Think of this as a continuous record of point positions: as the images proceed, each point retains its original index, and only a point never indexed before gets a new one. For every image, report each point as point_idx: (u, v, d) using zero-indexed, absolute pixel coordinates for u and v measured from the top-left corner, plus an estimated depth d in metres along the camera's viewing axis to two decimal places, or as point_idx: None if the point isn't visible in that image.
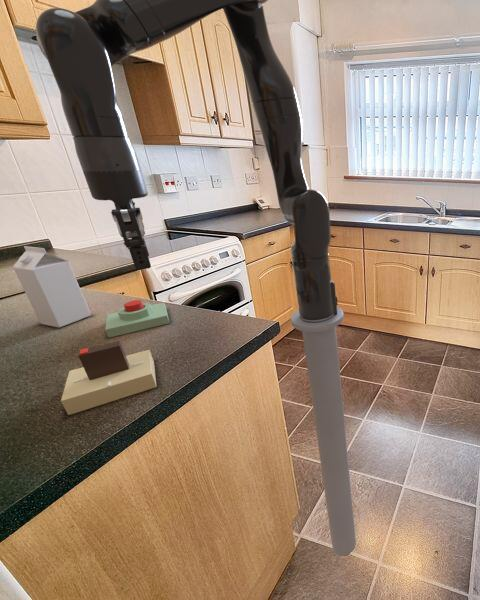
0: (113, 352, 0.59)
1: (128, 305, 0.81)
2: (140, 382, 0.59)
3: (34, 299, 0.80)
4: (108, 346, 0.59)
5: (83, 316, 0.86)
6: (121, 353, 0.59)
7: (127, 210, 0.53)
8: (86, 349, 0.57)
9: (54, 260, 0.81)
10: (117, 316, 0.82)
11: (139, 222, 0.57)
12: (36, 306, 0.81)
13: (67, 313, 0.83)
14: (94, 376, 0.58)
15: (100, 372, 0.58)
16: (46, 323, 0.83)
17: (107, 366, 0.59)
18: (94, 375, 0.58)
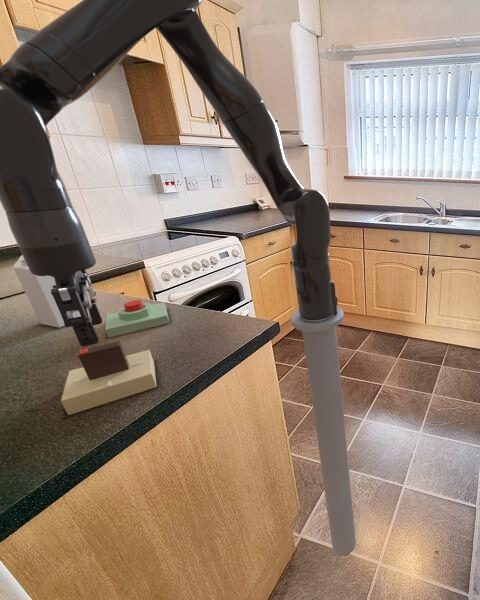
0: (113, 352, 0.59)
1: (128, 305, 0.81)
2: (140, 382, 0.59)
3: (34, 299, 0.80)
4: (108, 346, 0.59)
5: None
6: (121, 353, 0.59)
7: (67, 289, 0.48)
8: (86, 349, 0.57)
9: None
10: (117, 316, 0.82)
11: (84, 296, 0.52)
12: (36, 306, 0.81)
13: None
14: (94, 376, 0.58)
15: (100, 372, 0.58)
16: (46, 323, 0.83)
17: (107, 366, 0.59)
18: (94, 375, 0.58)
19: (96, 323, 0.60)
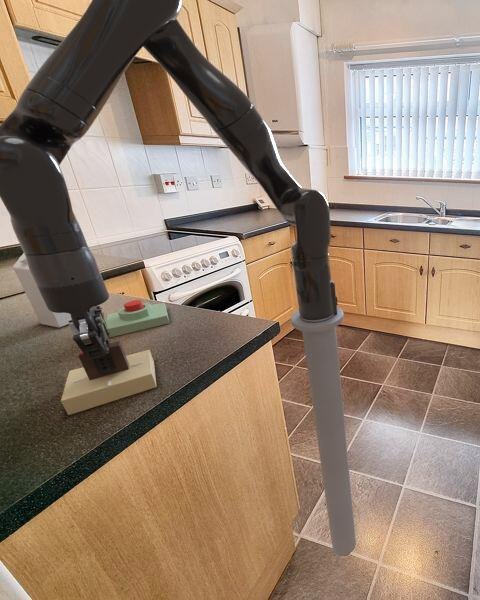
0: (113, 352, 0.59)
1: (128, 305, 0.81)
2: (140, 382, 0.59)
3: (34, 299, 0.80)
4: (108, 346, 0.59)
5: None
6: (121, 353, 0.59)
7: (88, 336, 0.52)
8: None
9: None
10: (117, 316, 0.82)
11: (101, 331, 0.56)
12: (36, 306, 0.81)
13: (67, 313, 0.83)
14: (94, 376, 0.58)
15: None
16: (46, 323, 0.83)
17: None
18: (94, 375, 0.58)
19: None
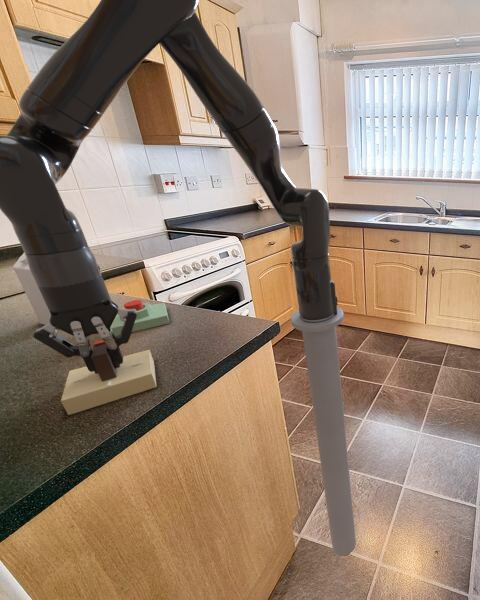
0: None
1: (128, 305, 0.81)
2: (140, 382, 0.59)
3: (34, 299, 0.80)
4: (97, 351, 0.57)
5: None
6: (94, 364, 0.56)
7: None
8: (101, 342, 0.59)
9: None
10: (117, 316, 0.82)
11: None
12: (36, 306, 0.81)
13: None
14: None
15: None
16: (46, 323, 0.83)
17: None
18: None
19: None
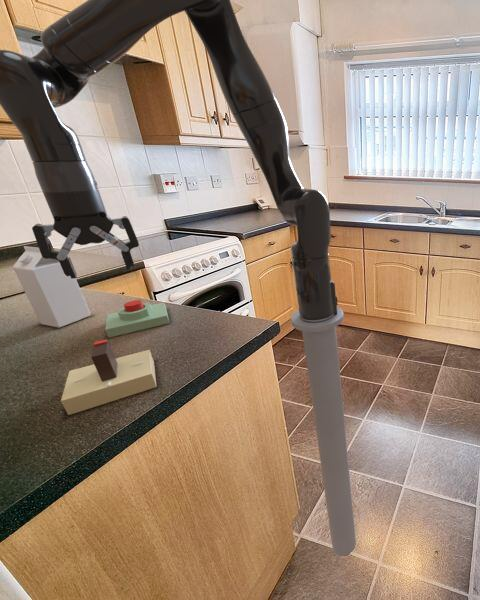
0: None
1: (128, 305, 0.81)
2: (140, 382, 0.59)
3: (34, 299, 0.80)
4: (97, 351, 0.57)
5: (83, 316, 0.86)
6: (94, 364, 0.56)
7: (33, 226, 0.59)
8: (101, 342, 0.59)
9: (54, 260, 0.81)
10: (117, 316, 0.82)
11: None
12: (36, 306, 0.81)
13: (67, 313, 0.83)
14: None
15: None
16: (46, 323, 0.83)
17: None
18: None
19: None
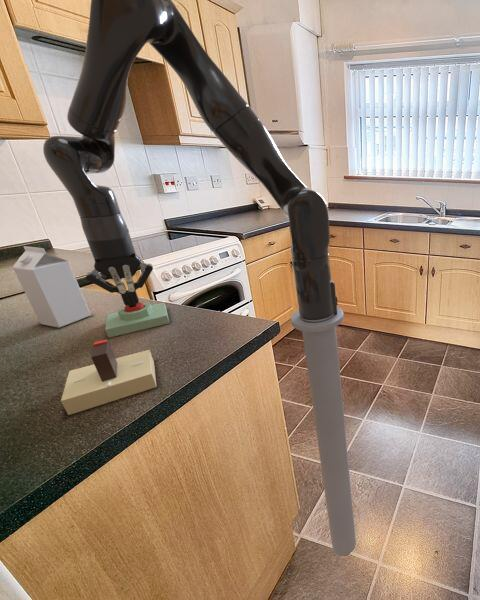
0: None
1: (129, 308, 0.81)
2: (140, 382, 0.59)
3: (34, 299, 0.80)
4: (97, 351, 0.57)
5: (83, 316, 0.86)
6: (94, 364, 0.56)
7: None
8: (101, 342, 0.59)
9: (54, 260, 0.81)
10: (117, 316, 0.82)
11: (112, 278, 0.77)
12: (36, 306, 0.81)
13: (67, 313, 0.83)
14: None
15: None
16: (46, 323, 0.83)
17: None
18: None
19: None
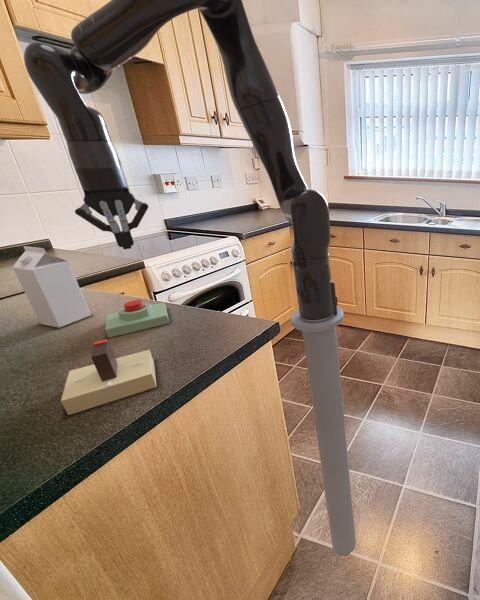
0: None
1: (128, 305, 0.81)
2: (140, 382, 0.59)
3: (34, 299, 0.80)
4: (97, 351, 0.57)
5: (83, 316, 0.86)
6: (94, 364, 0.56)
7: None
8: (101, 342, 0.59)
9: (54, 260, 0.81)
10: (117, 316, 0.82)
11: (104, 214, 0.71)
12: (36, 306, 0.81)
13: (67, 313, 0.83)
14: None
15: None
16: (46, 323, 0.83)
17: None
18: None
19: None
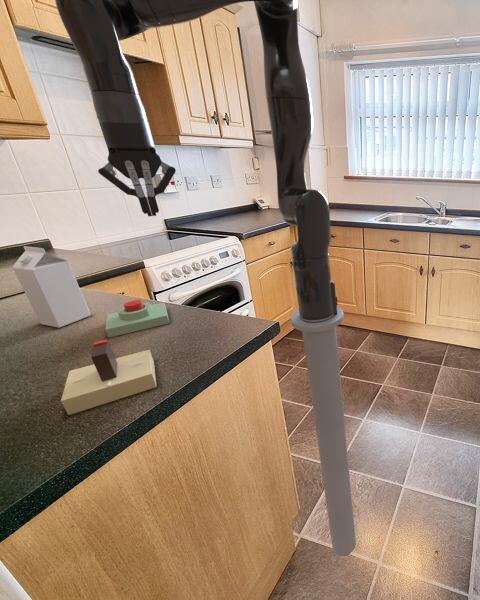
0: None
1: (128, 305, 0.81)
2: (140, 382, 0.59)
3: (34, 299, 0.80)
4: (97, 351, 0.57)
5: (83, 316, 0.86)
6: (94, 364, 0.56)
7: (98, 171, 0.63)
8: (101, 342, 0.59)
9: (54, 260, 0.81)
10: (117, 316, 0.82)
11: (129, 175, 0.65)
12: (36, 306, 0.81)
13: (67, 313, 0.83)
14: None
15: None
16: (46, 323, 0.83)
17: None
18: None
19: None
